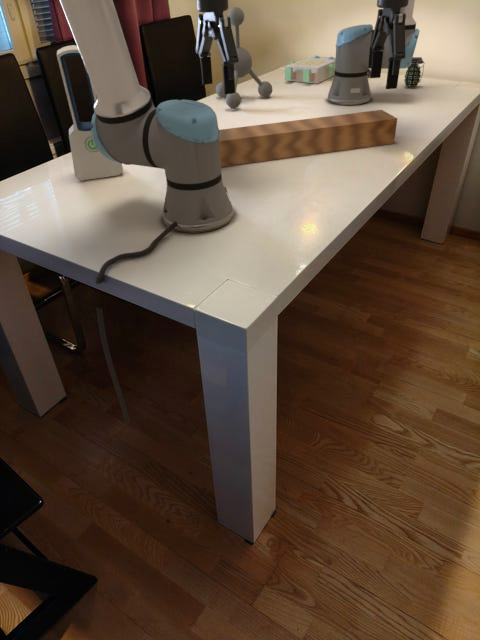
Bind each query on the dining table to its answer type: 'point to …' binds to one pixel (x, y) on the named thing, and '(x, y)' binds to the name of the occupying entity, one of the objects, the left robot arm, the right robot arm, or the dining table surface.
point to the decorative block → (311, 70)
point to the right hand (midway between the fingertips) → (382, 83)
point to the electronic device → (84, 131)
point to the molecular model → (241, 65)
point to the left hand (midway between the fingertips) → (218, 88)
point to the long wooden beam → (306, 137)
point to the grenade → (413, 72)
